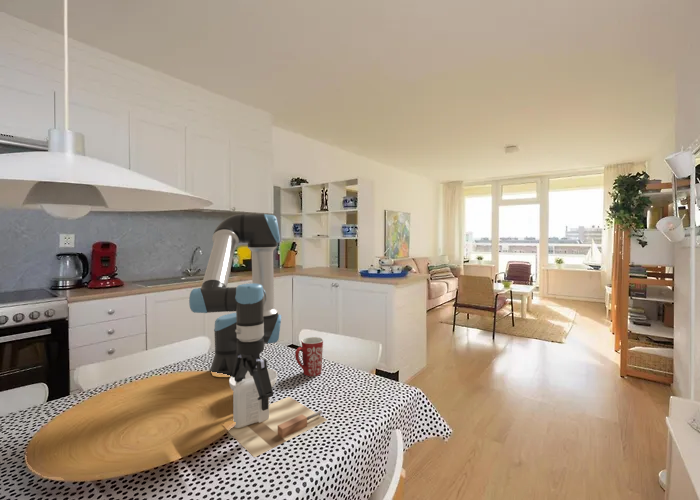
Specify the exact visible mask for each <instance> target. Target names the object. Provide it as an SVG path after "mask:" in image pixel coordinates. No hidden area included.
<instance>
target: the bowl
mask: <svg viewBox="0 0 700 500" xmlns="http://www.w3.org/2000/svg"><path fill="white" fill-rule="evenodd" d="M267 370H268V374H269V378H270V382H271V386H272V388H273V387H275V384H276V383H277V379H278V372H277V371H276V370H274V369H273V368H272V369H271V368H267ZM250 378H253V376H251V375H250V373H249V371H247V373H246V375H245V379H242V380H247V379H250ZM228 383H229V387H230V390H231V391H232V392H233V391H234V386H235V385H236V382H235V378H233V377H232V376H231V377H229V380H228Z"/></svg>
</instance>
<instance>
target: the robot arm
mask: <svg viewBox="0 0 700 500" xmlns="http://www.w3.org/2000/svg"><path fill="white" fill-rule="evenodd" d="M211 239H212V240H211V241H212V243H213V245H212V248H211V251H210V255H209V259H208V262H207V265H206V270H205V273H204V276H203V279H202V284H201V287H197V288H196V287H195V288H193V289H192V290H191V291H190V293H189V298H188V299H189V300H188V301H189V303H188V304H189V308H190V311H191V312H192V313H197V314H208V313H211V314H212V313H222V312H223V313H226V312H227V314H224V315H221V316H218V317H217V318H216V319H215V320H214V329H213V331H214V357H213V359H212V363H211V365H210V372H211V371H212V372H217V373H223V374H227V375H230V376H232V377H233V378H235V382H236V384H238V383H240V382H242V381H244V380H242V379H245V375H246V373H247V371H249V373H250V375H251V376H253V379H254V382H255V385H256V388H257V391H258V394H259V398H258V422H259V423H260V422H262V421H265V420H267V419H269V415H268V398H269V399H270V398H271V397H273V396H274V391H273V387H272V386H271V382H270V378H269V374H268V370H267V369H268V363H267V359H266V358H263V359H262V358H261V353H262V352H263V351H264V350H265V345H268V344H276V343H277V342H278V341H279V340H280V339H279V338H280V331H281V323H282V314H280V313H279V310H278V309H277V308H276V307H275V288H274V287H275V286H274V285H275V284H274V283H275V282H274V281H275V279H274V277H275V276H274V275H275V274H274V251H275V250H276V249H277V247H278V244H280V243H281V237H280V228H279V224H278V218H277V216H275V215H274V214H268V213H267V214H266V213H264V214H260V213H259V214H255V213H254V214H253V213H252V214H251V213H250V214H247V213H246V214H245V213H243V214H241V213H239V214H233V215H230V216H228V217H226V218H225V219H224V220H223V221H221V222H220V223H219V224H218V225H217V227H216V228H215V230H214V232H213V234H212V238H211ZM239 244H247V249H249V251H251V273H252V274H251V275H252V277H251V279H252V282H250V283H241V284H238V285H237V286H232V287H228V282H229V279H230V278H229V277H230V273H231V268H232V264H233V263H232V262H233V259H234V252H235V249H236V248H237V247H238V245H239ZM229 312H232V313H229Z"/></svg>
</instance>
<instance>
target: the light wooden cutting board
mask: <svg viewBox="0 0 700 500" xmlns="http://www.w3.org/2000/svg"><path fill="white" fill-rule="evenodd" d="M315 413H316V412H315V411H313V410H312V409H310V408H309V407H307V406H306V405H304V404H302V403H300V402H299V401H297V400H295V399H294V398H292V397H291V396H287V397H285V398H282V399H280V400H277V401H275V402H271V403H269V419H267V420H265V421H262V422H260V423H259V422H256V423H253V424H250V425H247V426H244V427H240V428H235V427H233V428H231V429H230V430H229V431H227V432H228V433H229V434H230V435H231V437H233V438H234V439H235V440H236V441H237V442H238V443H239V444H240V445H241V446H242V447H243V448H244V450H246V451H247V452H248V453H249V454H250V455H251V456H252V457H253V458H257V457H258V456H261V455H263V454H264V453H266V452H268V451H270V450H272V449H274V448H277V447H278V446H281V445H282V444H284V443H286V442H287V441H290V440H292V439H293V438H296V437H297V436H300V435H301V434H304V433H305V432H308V431H310V430H311V429H313V428H315V427H317V426H319V425H322V424H323V423H325V422H327V421H328V419H327V418H325V417H323V416H322V415H321V414H319V415H317V416H315V417H313V418H311V419H309V420H307V426H306V427H304V428H302V429H300V430H298V431H296V432H294V433H292V434H290V435H288V436H286V437H284V438H282V437H281V436H279V435H278V425H280V424H282V423H284V422H286V421H288V420H291V419H293V418H295V417H297V416H299V415H301V414H302V415H304V416H306V417H308V416H311V415H313V414H315Z"/></svg>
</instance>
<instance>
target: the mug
mask: <svg viewBox="0 0 700 500" xmlns="http://www.w3.org/2000/svg"><path fill="white" fill-rule="evenodd" d="M300 341H301V346H299V347H297V348H296V350H295V353H294V357H295V360H296V362H297V364H298V365H299V367H300V368H301V369H302V371H303V374H304V375H305V376H306V377H317V376H320V375H321V374H322V367H323V352H324V351H323V350H324V349H323V347H324V346H323V345H324V338H321V337H318V336H310V337H304V338H301V340H300ZM300 351H301V354H302V362H301V360H300Z"/></svg>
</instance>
